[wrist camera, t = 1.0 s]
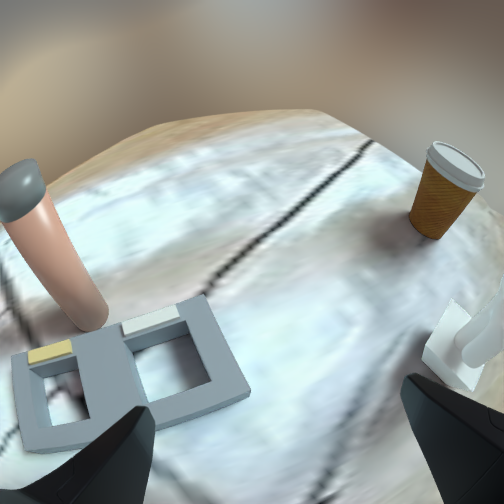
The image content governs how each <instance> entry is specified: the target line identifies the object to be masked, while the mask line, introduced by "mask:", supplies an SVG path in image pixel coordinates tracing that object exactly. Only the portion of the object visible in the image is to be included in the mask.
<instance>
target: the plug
mask: <svg viewBox="0 0 504 504" xmlns="http://www.w3.org/2000/svg"><path fill="white" fill-rule="evenodd" d="M0 220H1V222H2V224H3V226H4V228H5V229H6V231H7V233H8V234H9V236H10V238H11V239H12V241H13V243H14V244H15V246H16V247H17V249H18V250H19V252H20V254H21V255H22V257H23V258H24V260H25V261H26V262H27V264H28V265H29V267H30V268H31V270H32V271H33V273H34V274H35V275H36V277H37V278H38V279H39V281H40V282H41V283H42V285H43V286H44V287H45V289H46V290H47V291H48V293H49V294H50V295H51V296H52V298H53V299H54V300H55V301H56V303H57V304H58V305H59V306H60V308H61V309H62V310H63V311H64V312H65V313H66V315H67V316H68V317H69V318H70V319H71V320H72V322H73V323H74V324H75V325H76V326H77V327H78V328H79V329H80V330H82V331H84V332H92V331H95V330H98V329H99V328H101V327H102V326H103V325H104V323H105V322H106V320H107V318H108V314H109V309H108V305H107V303H106V302H105V300H104V299H103V297H102V295H101V294H100V292H99V290H98V289H97V287H96V286H95V284H94V282H93V281H92V279H91V277H90V275H89V274H88V272H87V270H86V268H85V267H84V265H83V263H82V261H81V259H80V258H79V256H78V254H77V252H76V250H75V248H74V246H73V244H72V243H71V241H70V239H69V237H68V235H67V233H66V231H65V228H64V226H63V224H62V222H61V220H60V218H59V216H58V214H57V211H56V209H55V207H54V205H53V202H52V200H51V198H50V195H49V193H48V190H47V188H46V186H45V183H44V181H43V178H42V175H41V173H40V170H39V167H38V165H37V162H36V160H35V159H25V160H22V161H20V162H18V163H16V164H14V165H12V166H10V167H9V168H7V169H6V170H5V171H3V172H2V173H1V174H0Z"/></svg>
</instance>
